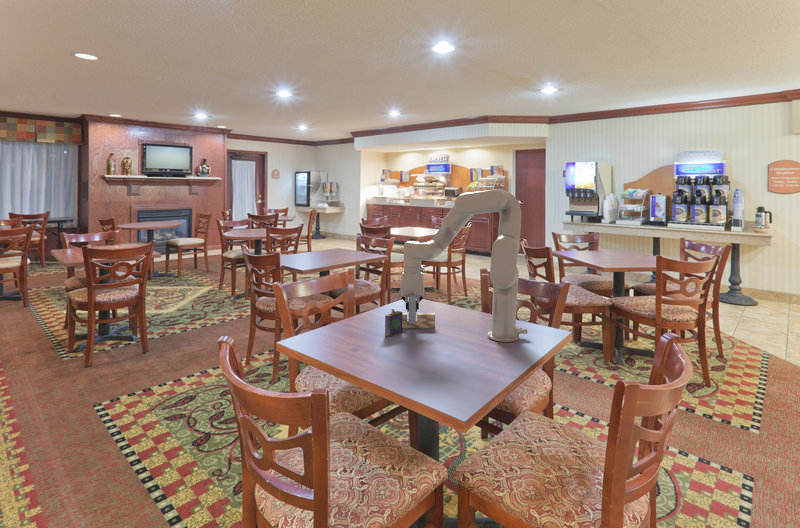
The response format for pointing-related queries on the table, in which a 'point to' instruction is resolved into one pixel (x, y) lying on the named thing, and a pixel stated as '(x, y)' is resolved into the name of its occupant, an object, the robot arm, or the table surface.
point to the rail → (419, 321)
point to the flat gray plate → (412, 309)
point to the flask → (393, 323)
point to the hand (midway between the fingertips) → (412, 310)
